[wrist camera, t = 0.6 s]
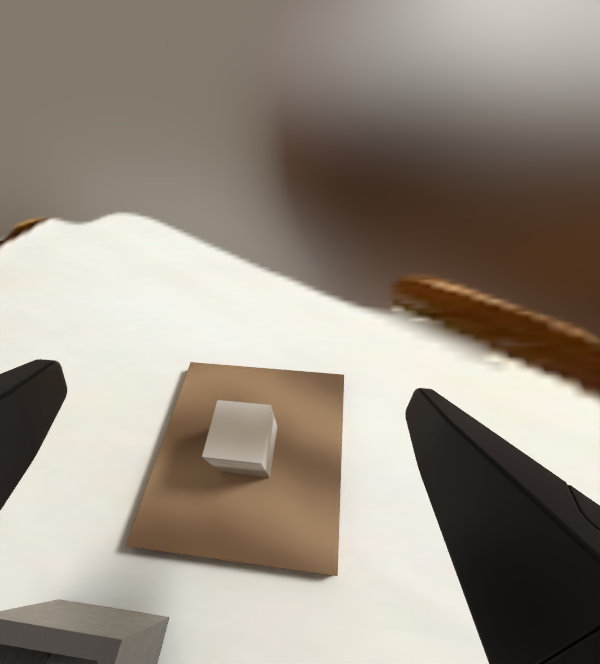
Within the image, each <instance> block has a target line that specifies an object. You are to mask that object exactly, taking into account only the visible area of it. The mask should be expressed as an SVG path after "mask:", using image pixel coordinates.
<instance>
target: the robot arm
mask: <svg viewBox="0 0 600 664" xmlns="http://www.w3.org/2000/svg"><path fill="white" fill-rule="evenodd" d="M66 395H67V385H66V382H65V378H64V374H63V371H62V367H61V364H60V363H59V362H57V361H55V360H42V359H39V360H34V361H32V362H29V363H27V364H24V365H22V366H19V367H17V368H14V369H12V370H9V371H7V372H4V373H2V374H0V510H1V509H2V507H3V506H4V504H5V503H6V501H7V500H8V498H9V496H10V495H11V493H12V492H13V490H14V489H15V487H16V486H17V484H18V483H19V481H20V480H21V478H22V477H23V475H24V473H25V472H26V470H27V469H28V467H29V466H30V464H31V462H32V461H33V459H34V458H35V456H36V454H37V452H38V451H39V449H40V447H41V445H42V443H43V441H44V439H45V437H46V435H47V433H48V431H49V429H50V427H51V425H52V423H53V421H54V419H55V417H56V416H57V414H58V412H59V410H60V408H61V406H62V404H63V402H64V400H65V398H66ZM406 421H407V425H408V429H409V433H410V437H411V441H412V445H413V449H414V453H415V457H416V461H417V464H418V468H419V471H420V474H421V477H422V480H423V483H424V485H425V488H426V491H427V494H428V496H429V499H430V502H431V505H432V507H433V510H434V513H435V516H436V518H437V521H438V524H439V527H440V530H441V532H442V535H443V538H444V541H445V543H446V546H447V549H448V552H449V554H450V557H451V560H452V563H453V565H454V568H455V571H456V574H457V576H458V579H459V582H460V585H461V587H462V590H463V593H464V596H465V598H466V601H467V604H468V607H469V609H470V612H471V615H472V618H473V620H474V623H475V626H476V629H477V631H478V634H479V637H480V640H481V642H482V645H483V648H484V651H485V653H486V656H487V659H488V662H489V664H600V505H598V504H597V503H595V502H594V501H592V500H591V499H589V498H588V497H586V496H585V495H584V494H582V493H581V492H579V491H578V490H576V489H575V488H574V487H572V486H571V485H567V483H566V482H565V481H563V480H562V479H561V478H559V477H558V476H556V475H555V474H553V473H552V472H550V471H549V470H548V469H546V468H545V467H543V466H542V465H540V464H539V463H537V462H536V461H535V460H533V459H532V458H530V457H529V456H527V455H526V454H524V453H523V452H522V451H520V450H519V449H517V448H516V447H514V446H513V445H511V444H510V443H509V442H507V441H506V440H504V439H503V438H501V437H500V436H499V435H497V434H496V433H494V432H493V431H491V430H490V429H488V428H487V427H486V426H484V425H483V424H481V423H480V422H478V421H477V420H475V419H474V418H473V417H471V416H470V415H468V414H467V413H465V412H464V411H463V410H461V409H460V408H458V407H457V406H455V405H454V404H452V403H451V402H450V401H448V400H447V399H445V398H444V397H442V396H441V395H439V394H438V393H437V392H435V391H434V390H432V389H425V388H418V389H416V390H415V391H414V393H413V395H412V397H411V400H410V402H409V404H408V406H407V409H406Z"/></svg>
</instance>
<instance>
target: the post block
mask: <svg viewBox="0 0 600 664" xmlns="http://www.w3.org/2000/svg"><path fill="white" fill-rule="evenodd" d="M343 392H344V375H340V374H328V373H316V372H304V371H291V370H279V369H267V368H255V367H243V366H230V365H218V364H206V363H194V362H191V363H190V365H189V368H188V371H187V374H186V377H185V380H184V382H183V385H182V388H181V391H180V394H179V397H178V400H177V402H176V405H175V408H174V411H173V414H172V417H171V419H170V422H169V425H168V428H167V431H166V434H165V436H164V439H163V442H162V445H161V448H160V451H159V453H158V456H157V459H156V462H155V465H154V468H153V471H152V473H151V476H150V479H149V482H148V485H147V488H146V490H145V493H144V496H143V499H142V502H141V505H140V507H139V510H138V513H137V516H136V519H135V522H134V525H133V527H132V530H131V533H130V536H129V539H128V542H127V544H126V546H128V547H135V548H142V549H149V550H156V551H163V552H171V553H178V554H185V555H192V556H199V557H206V558H213V559H220V560H227V561H234V562H242V563H249V564H256V565H263V566H270V567H277V568H284V569H291V570H298V571H306V572H313V573H320V574H327V575H334V576H337V574H338V544H339V513H340V483H341V453H342V423H343Z"/></svg>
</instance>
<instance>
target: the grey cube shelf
mask: <svg viewBox="0 0 600 664" xmlns="http://www.w3.org/2000/svg"><path fill="white" fill-rule="evenodd" d="M168 620H169V617H165V616H158V615H152V614H146V613H140V612H133V611H127V610H121V609H115V608H109V607H102V606H96V605H90V604H84V603H77V602H71V601H65V600H54V601H49V602H44V603H39V604H34V605H29V606H24V607H19V608H14V609H9V610H4V611H0V664H46V662H47V659H48V657H49V654H50V653H54V654H60V655H66V656H71V657H77V658H82V659H88V660H94V661H98V662H97V664H157V662H158V659H159V655H160V651H161V647H162V643H163V639H164V635H165V632H166V628H167V624H168Z"/></svg>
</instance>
